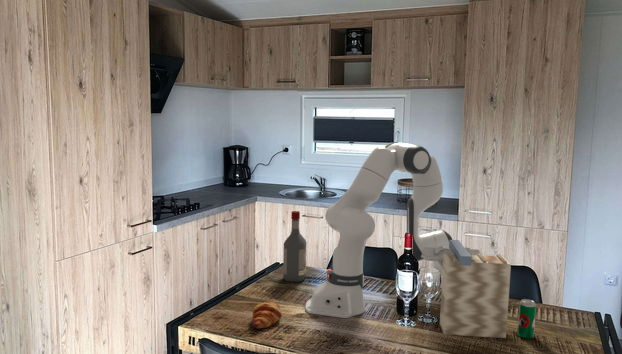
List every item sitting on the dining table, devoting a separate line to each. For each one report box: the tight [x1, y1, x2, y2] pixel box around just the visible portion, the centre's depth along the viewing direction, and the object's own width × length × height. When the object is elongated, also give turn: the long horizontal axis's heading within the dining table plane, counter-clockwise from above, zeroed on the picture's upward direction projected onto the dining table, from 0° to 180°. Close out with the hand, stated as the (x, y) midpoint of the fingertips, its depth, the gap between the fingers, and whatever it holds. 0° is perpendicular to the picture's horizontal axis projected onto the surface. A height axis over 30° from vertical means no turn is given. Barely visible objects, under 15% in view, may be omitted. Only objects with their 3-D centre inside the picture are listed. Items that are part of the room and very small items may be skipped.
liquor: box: [282, 210, 307, 283], centre depth 219 cm, size 9×9×30 cm
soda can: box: [517, 298, 537, 340], centre depth 166 cm, size 5×5×12 cm
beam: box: [449, 239, 472, 266], centre depth 170 cm, size 3×22×3 cm, turn 174°
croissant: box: [252, 301, 283, 329], centre depth 175 cm, size 21×10×8 cm, turn 166°
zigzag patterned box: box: [439, 252, 512, 339], centre depth 169 cm, size 20×9×26 cm, turn 84°
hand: (454, 249), depth 178 cm, fingers open, 8 cm apart
